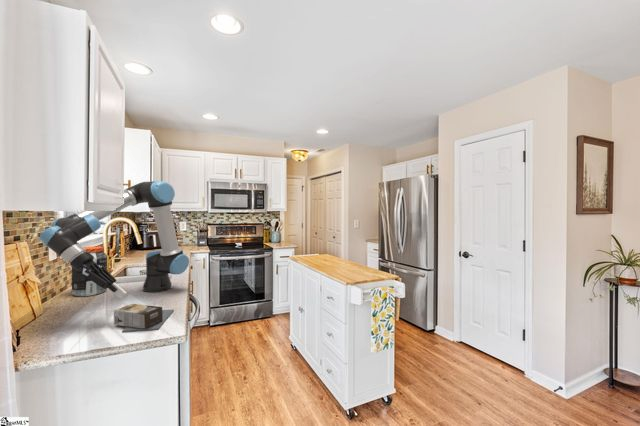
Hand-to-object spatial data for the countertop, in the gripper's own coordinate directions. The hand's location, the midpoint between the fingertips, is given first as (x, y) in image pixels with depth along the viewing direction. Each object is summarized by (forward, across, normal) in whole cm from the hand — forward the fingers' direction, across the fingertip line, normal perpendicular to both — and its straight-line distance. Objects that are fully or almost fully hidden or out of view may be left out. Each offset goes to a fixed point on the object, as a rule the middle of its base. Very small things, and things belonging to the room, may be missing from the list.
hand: (123, 295), depth 122 cm
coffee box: (+5, 0, -6) cm, 8 cm away
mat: (+16, 0, -1) cm, 16 cm away
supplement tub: (-18, -49, -34) cm, 63 cm away
